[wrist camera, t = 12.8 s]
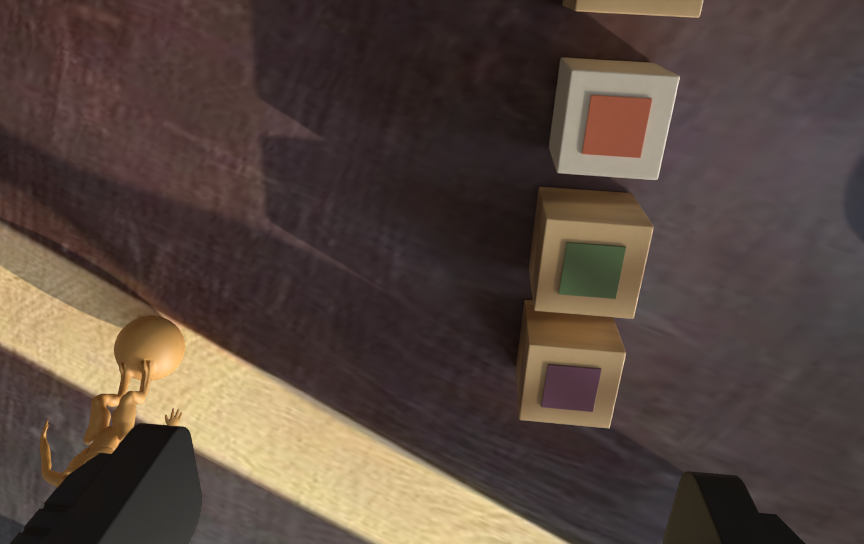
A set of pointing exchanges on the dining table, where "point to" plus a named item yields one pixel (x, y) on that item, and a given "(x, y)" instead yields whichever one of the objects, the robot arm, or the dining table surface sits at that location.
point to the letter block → (611, 117)
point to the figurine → (125, 389)
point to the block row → (583, 282)
